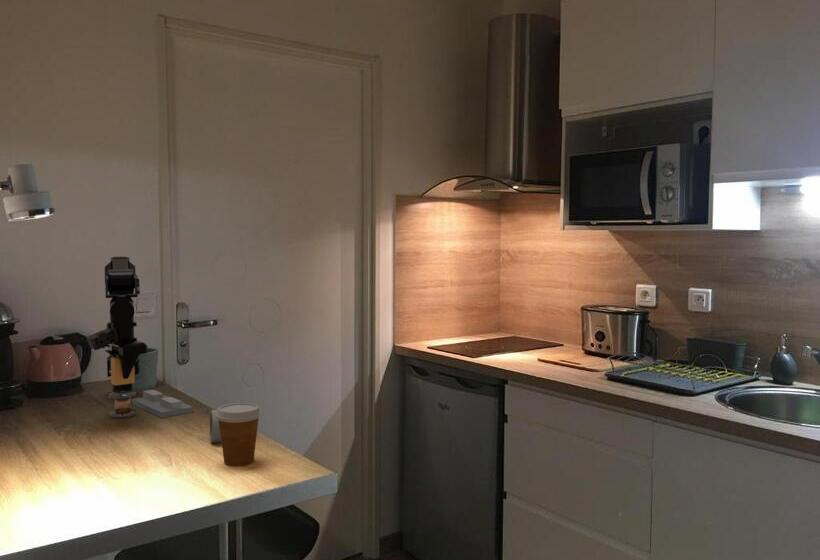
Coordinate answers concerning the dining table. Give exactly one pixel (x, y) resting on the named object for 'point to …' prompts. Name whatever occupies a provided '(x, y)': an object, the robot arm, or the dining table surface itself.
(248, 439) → the disposable coffee cup
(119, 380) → the orange tab
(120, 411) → the grey and brown spool
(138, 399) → the notched board
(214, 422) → the ceramic mug
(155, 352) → the grey green pot
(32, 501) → the dining table surface
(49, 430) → the dining table surface
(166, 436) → the dining table surface
